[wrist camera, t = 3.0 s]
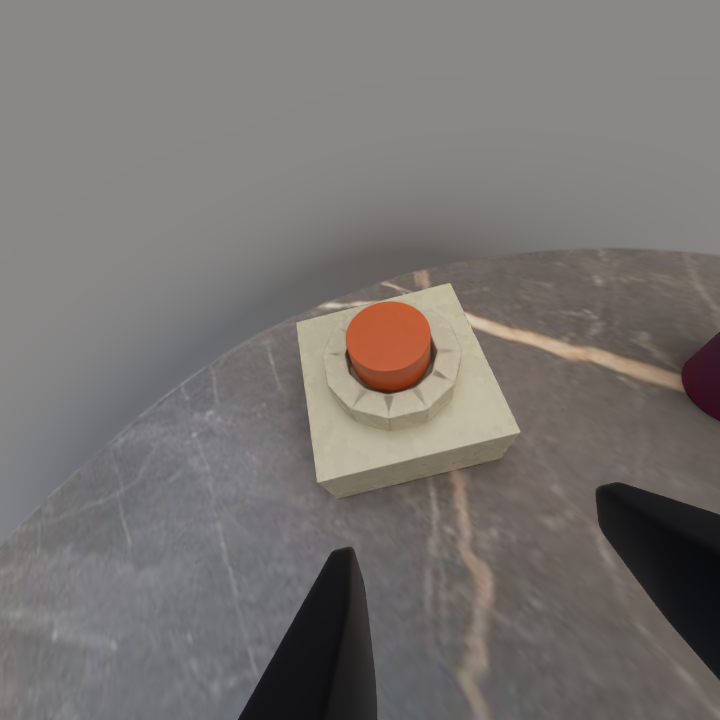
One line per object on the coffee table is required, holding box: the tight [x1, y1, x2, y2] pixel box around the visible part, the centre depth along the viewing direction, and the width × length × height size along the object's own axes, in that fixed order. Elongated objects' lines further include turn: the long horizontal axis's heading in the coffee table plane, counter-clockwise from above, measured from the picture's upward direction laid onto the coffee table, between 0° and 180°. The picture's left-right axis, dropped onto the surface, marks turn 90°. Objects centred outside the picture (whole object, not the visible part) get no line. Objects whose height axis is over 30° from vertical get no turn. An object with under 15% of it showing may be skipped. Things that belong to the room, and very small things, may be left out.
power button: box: [346, 301, 431, 391], centre depth 17 cm, size 4×4×2 cm
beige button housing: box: [296, 283, 521, 499], centre depth 20 cm, size 10×10×6 cm
